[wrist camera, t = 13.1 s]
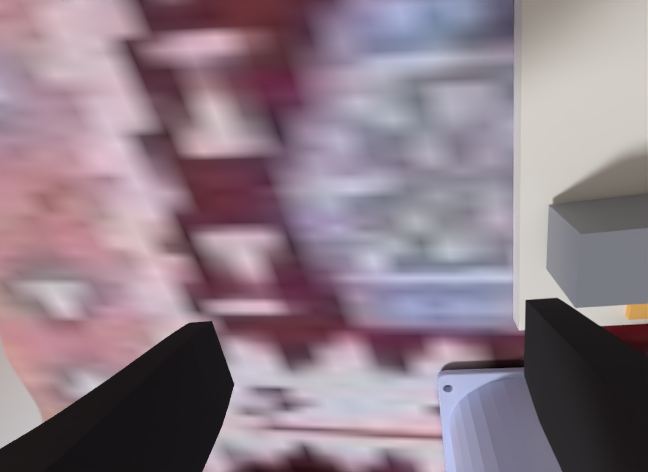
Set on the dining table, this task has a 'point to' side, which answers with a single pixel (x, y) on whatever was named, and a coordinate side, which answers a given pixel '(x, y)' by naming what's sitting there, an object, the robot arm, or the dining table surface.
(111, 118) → the dining table surface
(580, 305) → the slider
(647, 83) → the switch board
